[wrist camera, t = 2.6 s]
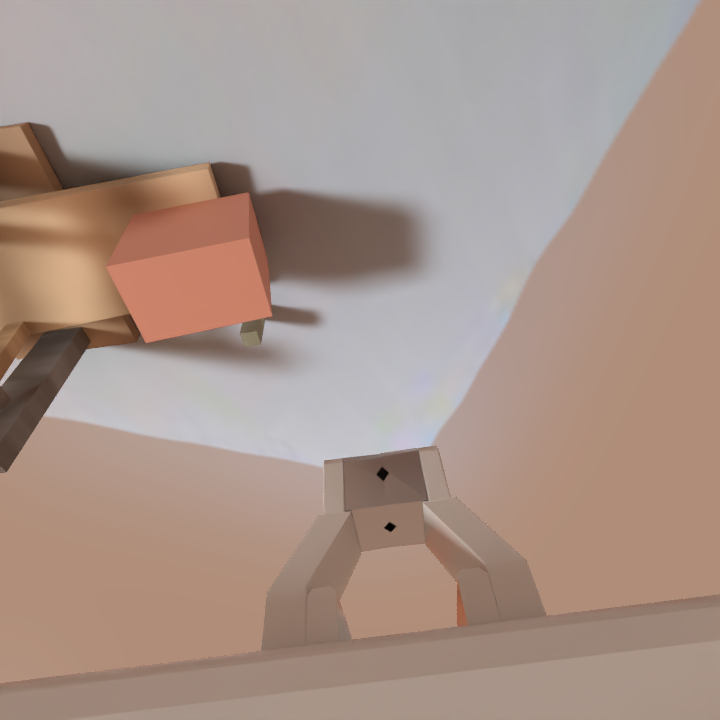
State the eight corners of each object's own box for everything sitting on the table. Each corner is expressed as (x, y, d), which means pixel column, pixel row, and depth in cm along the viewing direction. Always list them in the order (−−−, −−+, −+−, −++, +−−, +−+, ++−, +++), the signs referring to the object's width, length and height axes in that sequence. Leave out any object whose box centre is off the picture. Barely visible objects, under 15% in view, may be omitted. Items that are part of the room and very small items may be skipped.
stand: (23, 351, 31) (-92, 492, 23) (-129, 147, 23) (-401, 244, 14) (265, 316, 31) (243, 446, 22) (197, 95, 23) (120, 163, 14)
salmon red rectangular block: (163, 282, 26) (145, 343, 22) (133, 214, 24) (105, 266, 19) (268, 261, 27) (272, 316, 22) (248, 192, 24) (249, 238, 20)
